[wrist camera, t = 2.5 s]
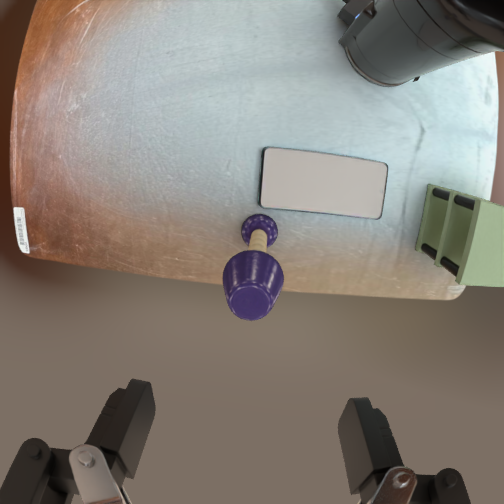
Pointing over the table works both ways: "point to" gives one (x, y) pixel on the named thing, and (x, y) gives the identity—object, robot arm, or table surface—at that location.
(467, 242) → the shelf
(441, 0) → the robot arm
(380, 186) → the smartphone
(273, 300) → the toy lamp
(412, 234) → the table surface
